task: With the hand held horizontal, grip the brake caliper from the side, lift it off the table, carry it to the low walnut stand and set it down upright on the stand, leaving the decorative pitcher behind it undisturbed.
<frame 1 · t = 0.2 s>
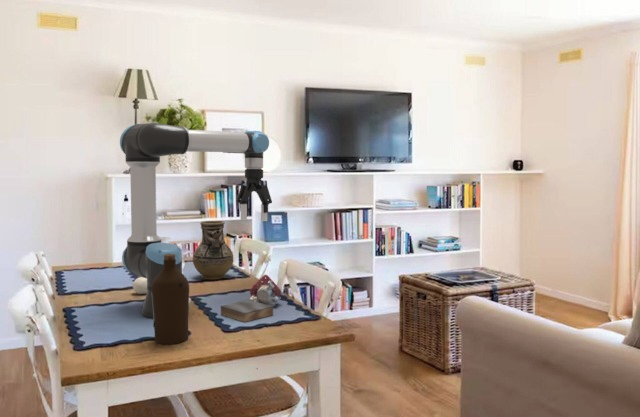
hand: (253, 220, 239), 27 cm above the table, tool pointing down, fingers open, 13 cm apart
decorative pitcher: (213, 278, 258), on the table
baseball: (142, 294, 227), on the table
olive oil: (171, 340, 169), on the table
stand: (246, 314, 196), on the table
brake caliper: (265, 305, 209), on the table
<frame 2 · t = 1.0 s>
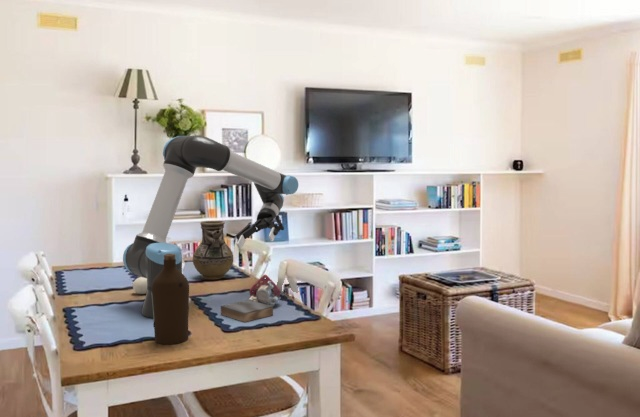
hand: (254, 243, 220), 21 cm above the table, tool tilted 65°, fingers open, 13 cm apart
nothing on the table moved.
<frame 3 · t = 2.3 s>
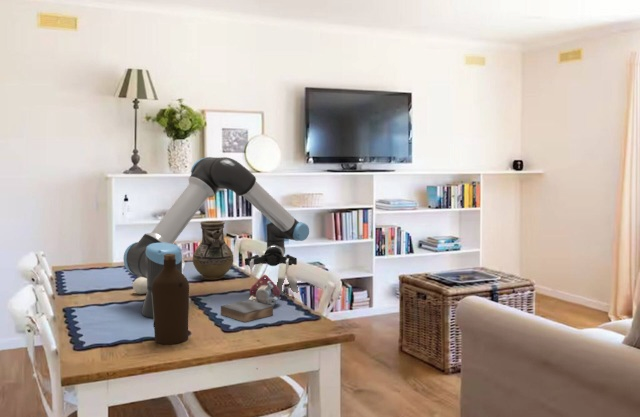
hand: (268, 265, 218), 13 cm above the table, tool horizontal, fingers open, 13 cm apart
nothing on the table moved.
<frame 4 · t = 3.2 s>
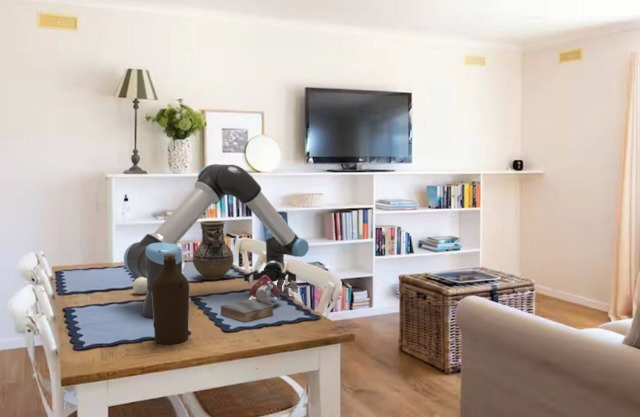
hand: (268, 281, 218), 6 cm above the table, tool horizontal, fingers open, 13 cm apart
nothing on the table moved.
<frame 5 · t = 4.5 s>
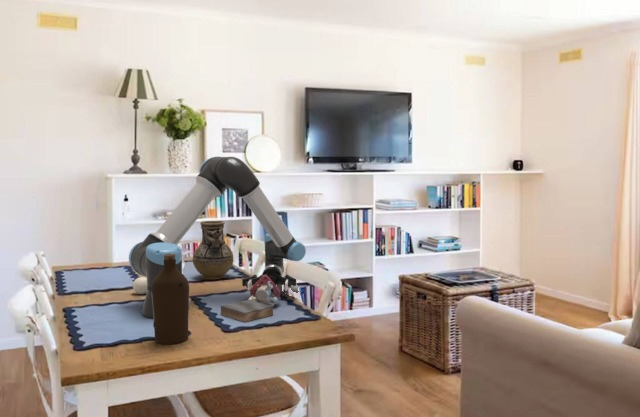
hand: (267, 286, 210), 6 cm above the table, tool horizontal, fingers open, 13 cm apart
nothing on the table moved.
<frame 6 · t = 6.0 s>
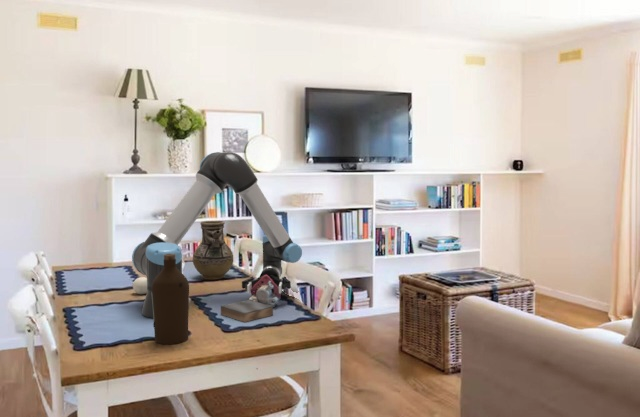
hand: (263, 289, 204), 7 cm above the table, tool horizontal, fingers closed on brake caliper, 10 cm apart
brake caliper: (265, 306, 208), on the table, touching gripper
everything else where it was.
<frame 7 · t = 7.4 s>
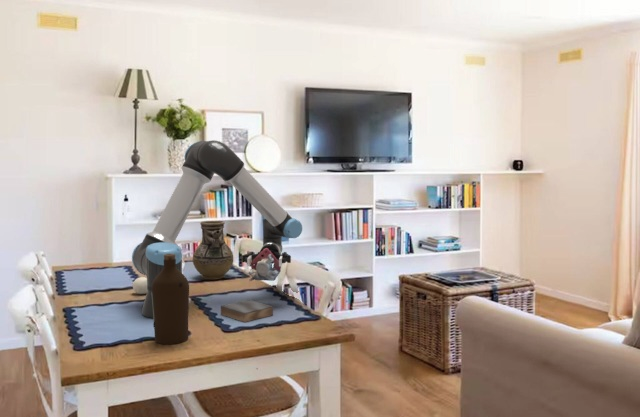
hand: (264, 262, 204), 16 cm above the table, tool horizontal, fingers closed on brake caliper, 10 cm apart
brake caliper: (265, 279, 207), point 9 cm above the table, touching gripper
everything else where it was.
when the fingers open (11 cm above the table, at t = 10.5 s): brake caliper drops 1 cm, resting on stand.
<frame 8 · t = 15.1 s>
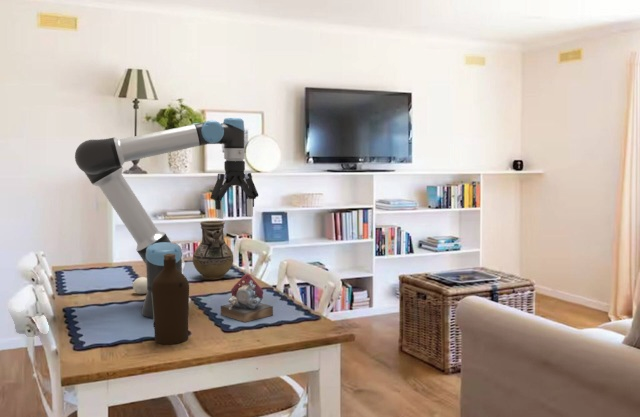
hand: (235, 217, 217), 31 cm above the table, tool pointing down, fingers open, 13 cm apart
brake caliper: (246, 307, 195), point 3 cm above the table, touching stand
everything else where it was.
at the end: brake caliper 0.9 cm from the stand (horizontally); brake caliper tilted 0°; decorative pitcher moved 0.2 cm from its start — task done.
